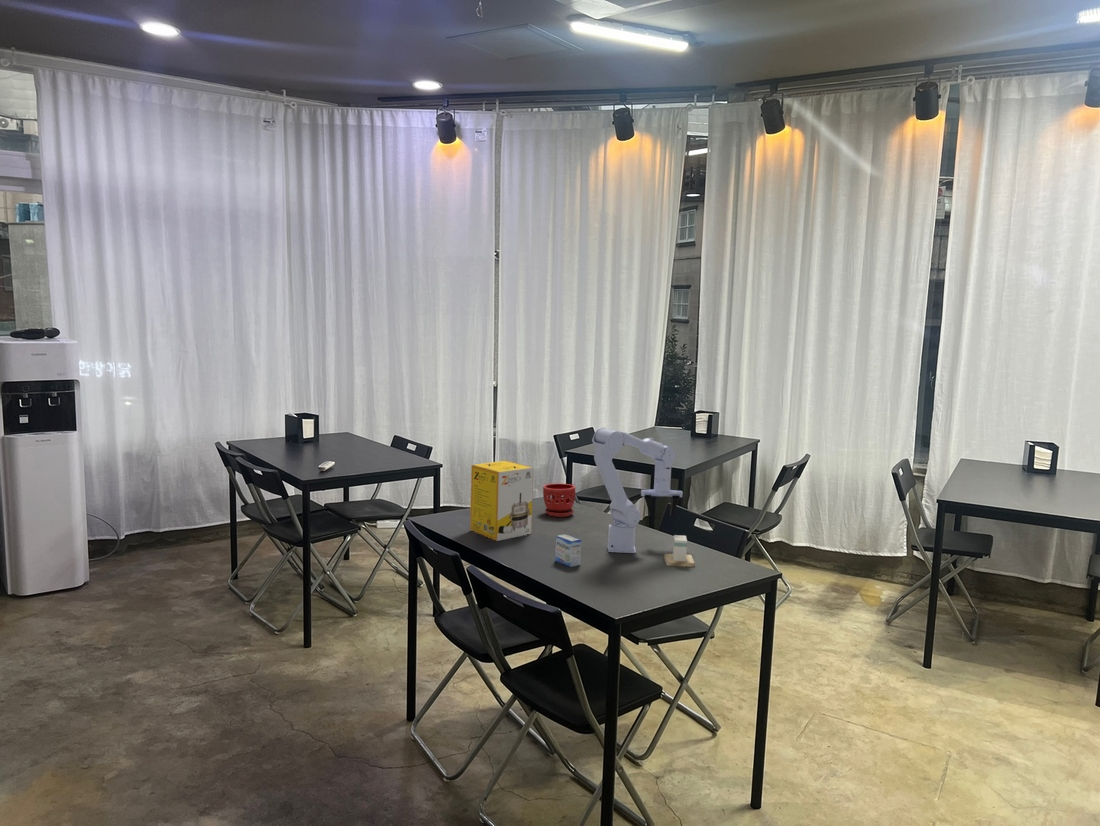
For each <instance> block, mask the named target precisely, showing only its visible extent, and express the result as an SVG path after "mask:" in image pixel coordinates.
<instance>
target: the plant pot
mask: <svg viewBox="0 0 1100 826" xmlns="http://www.w3.org/2000/svg"><path fill="white" fill-rule="evenodd" d="M542 496H543V502H544V505H545V507H546V508H545V509H544V512H545V513H546V515H548V516H549V517H556V518H558V517H559V518H564V517H570V516H571V515H573V513H574V511H575V510H574V509H573V506H574V503H575V498H576V486H575V485H573V484H568V483H550V484H545V485H543V487H542Z"/></svg>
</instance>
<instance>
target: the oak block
mask: <svg viewBox="0 0 1100 826" xmlns="http://www.w3.org/2000/svg"><path fill="white" fill-rule="evenodd" d="M663 559H664V561H665V564H666V566H668V567H686V566H687V567H690V568H695V561H694V559H693V556H692V554H686V562H685V561H674V559H673V553H664V555H663ZM687 567H686V568H687Z"/></svg>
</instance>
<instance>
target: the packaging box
mask: <svg viewBox="0 0 1100 826" xmlns="http://www.w3.org/2000/svg"><path fill="white" fill-rule="evenodd" d="M470 469H471V471H470V472H471V473H470V514H469V516H470V517H469V518H470V519H469V522H470V523H469V524H470V525H469V531H470V530H473V531H475V532H477V533H479V534H482V535H484V536H483V537H485V536H486V537H485V538H487V537H488V539H490V538H491V539H490V540H492V541H495V540H496V541H495V542H499V541H503V540H509V539H512V538H517V537H523V535H524V536H528V535H527V534H529V535H532V528H533V496H534V495H533V494H534V493H533V492H534V491H533V490H534V467H532V466H528V465H524V464H520V463H515V462H513V461H507V460H501V461H492V462H483V463H475V464H471V468H470ZM477 533H476V534H477ZM479 534H478V535H479ZM482 535H481V536H482Z"/></svg>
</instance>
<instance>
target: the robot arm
mask: <svg viewBox="0 0 1100 826" xmlns="http://www.w3.org/2000/svg"><path fill="white" fill-rule="evenodd" d="M591 442H592V443H593V451H594V452H593V454H594V455H593V460H594V462H595V465H596V468H597V470H598V472H599V474H600V477H601V480H602V482H603V484H604V486H605V488H606V491H607V494H608V496H609V498H610V501H611V503H610V504H609V508H610V517H611V519H612V520H613V524H611V523H610V524H608V536H607V538H608V539H607V544H606V545H607V551H608V553H624V554H627V553H628V554H636V553H637V551H636V546H635V544H636V543H635V540H636V539H635V538H636V527H637V525H638V524H639V522H640V520H641V512H640V511H639V510H638V509H637V508H636V507H635V505H634V503H633V502H632V501H631V500H630V499H629V498H628V496H627V494H626V492H625V490H624V487H623V483H622V482H621V480H620V477H619V475H618V472H617V470H616V467H615V465H614V463H613V458H615V456H616V455H617V454H618V452H619V451H620V449H622V447H625V446H626V445H628V446H630V447H634V448H637V449H638V450H639V453H640V454H642V455H644V456H647V457H650V458H652V459H653V460H654V482H653V483H654V484H653V489H640V490H641V491H640V496H641V497H643V498H644V501H645V503H646V507H647V511H648V516H649V517H651V518H652V514H653V512H652V511H653V510H652V506H653V498H652V497H670V506H669V507H670V509H669V517H671V518H673V517H674V512H675V510H676V508H677V505H678V503H680V499H681V498H683V494H684V493H683V491H682V490H675V489H674V490H673V489H671V479H672V478H671V477H672V466H673V462H674V460H675V458H676V453H675V450H674V449H673V447H671V446H668V445H664V443H663V442H661V441H659V442H658V441H655V438H652V437H648V438H647V437H646V438H643V439H641V438H639V437H636V436H634V435H632V434H631V433H627V432H624V431H619V430H614V429H608V428H605V427H599V428H597V429H596V431H595V432H594V434H593V437H592V438H591Z"/></svg>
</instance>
